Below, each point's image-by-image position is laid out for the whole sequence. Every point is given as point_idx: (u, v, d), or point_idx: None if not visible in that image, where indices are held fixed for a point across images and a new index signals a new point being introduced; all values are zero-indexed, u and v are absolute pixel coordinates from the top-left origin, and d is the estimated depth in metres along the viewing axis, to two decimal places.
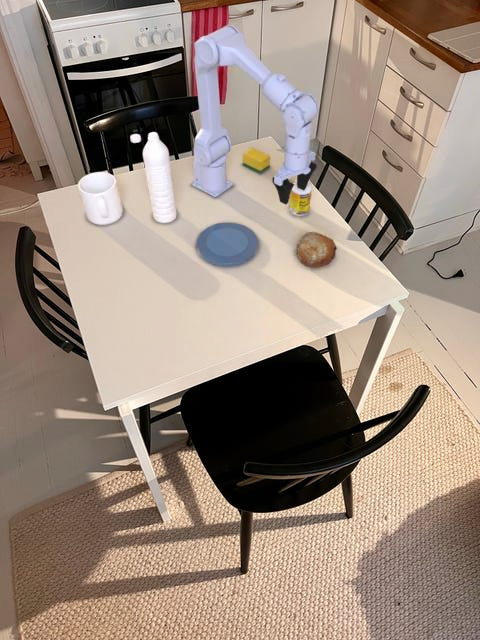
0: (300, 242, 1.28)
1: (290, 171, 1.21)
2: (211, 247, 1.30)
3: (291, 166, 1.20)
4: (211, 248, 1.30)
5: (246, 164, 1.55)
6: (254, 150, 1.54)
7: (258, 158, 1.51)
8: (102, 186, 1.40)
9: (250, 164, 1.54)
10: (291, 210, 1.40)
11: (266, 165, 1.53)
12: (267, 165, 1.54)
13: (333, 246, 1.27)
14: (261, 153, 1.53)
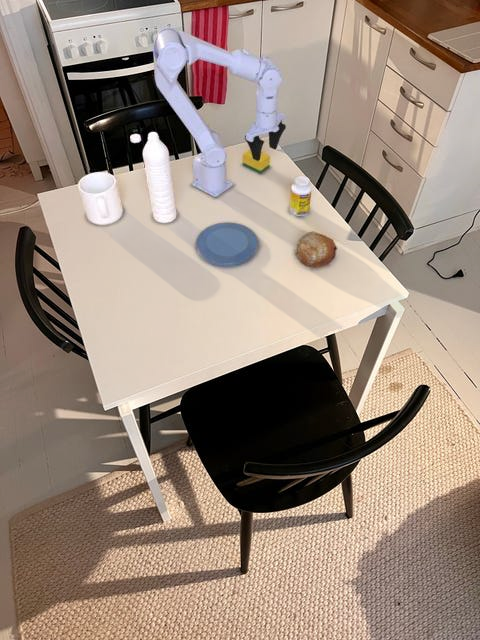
0: (300, 242, 1.28)
1: (260, 129, 1.36)
2: (211, 247, 1.30)
3: (261, 124, 1.35)
4: (211, 248, 1.30)
5: (246, 164, 1.55)
6: None
7: None
8: (102, 186, 1.40)
9: (250, 164, 1.54)
10: (291, 210, 1.40)
11: (266, 165, 1.53)
12: (267, 165, 1.54)
13: (333, 246, 1.27)
14: (261, 153, 1.53)
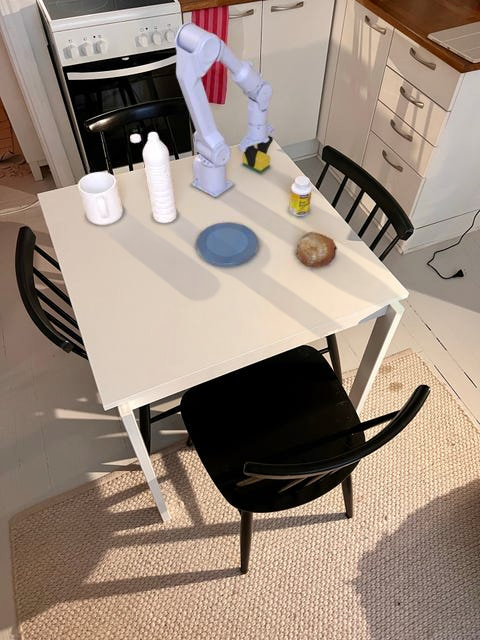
0: (300, 242, 1.28)
1: (252, 140, 1.46)
2: (211, 247, 1.30)
3: (252, 136, 1.45)
4: (211, 248, 1.30)
5: (246, 164, 1.55)
6: None
7: (258, 158, 1.51)
8: (102, 186, 1.40)
9: None
10: (291, 210, 1.40)
11: (266, 165, 1.54)
12: (267, 165, 1.54)
13: (333, 246, 1.27)
14: (261, 153, 1.53)
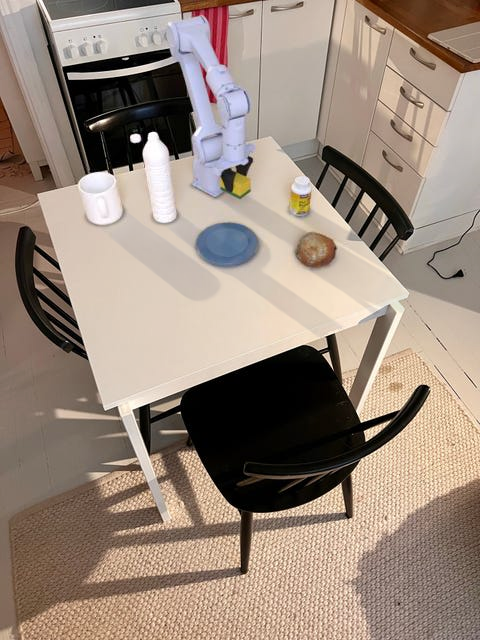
0: (300, 242, 1.28)
1: (228, 162, 1.27)
2: (211, 247, 1.30)
3: (229, 157, 1.26)
4: (211, 248, 1.30)
5: (224, 188, 1.35)
6: None
7: (237, 182, 1.32)
8: (102, 186, 1.40)
9: None
10: (291, 210, 1.40)
11: (246, 189, 1.34)
12: (248, 190, 1.35)
13: (333, 246, 1.27)
14: (241, 176, 1.34)
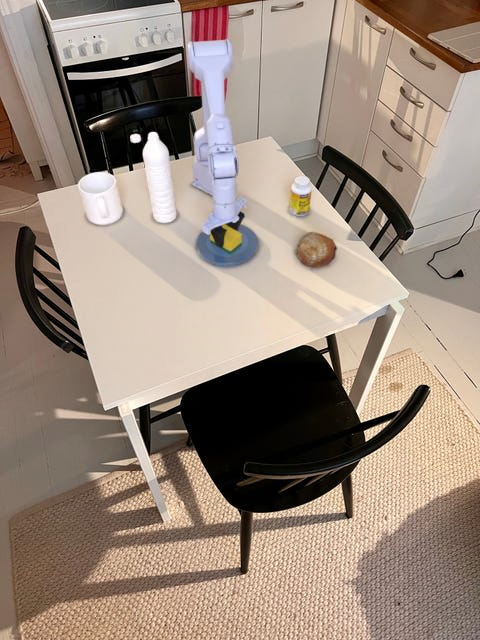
0: (300, 242, 1.28)
1: (218, 220, 1.22)
2: (211, 247, 1.30)
3: (219, 215, 1.21)
4: (211, 248, 1.30)
5: (214, 242, 1.30)
6: (223, 226, 1.30)
7: (227, 237, 1.27)
8: (102, 186, 1.40)
9: None
10: (291, 210, 1.40)
11: (237, 244, 1.29)
12: (239, 244, 1.30)
13: (333, 246, 1.27)
14: (231, 230, 1.29)
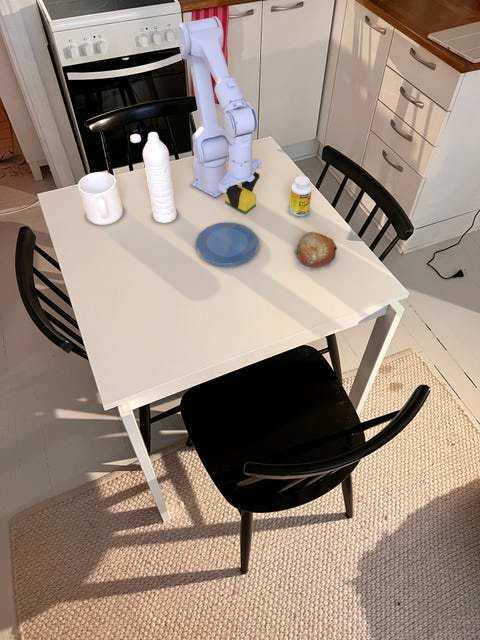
0: (300, 242, 1.28)
1: (234, 179, 1.24)
2: (211, 247, 1.30)
3: (235, 174, 1.23)
4: (211, 248, 1.30)
5: (229, 203, 1.33)
6: None
7: (242, 197, 1.29)
8: (102, 186, 1.40)
9: None
10: (291, 210, 1.40)
11: (252, 205, 1.31)
12: (253, 205, 1.32)
13: (333, 246, 1.27)
14: (246, 191, 1.31)
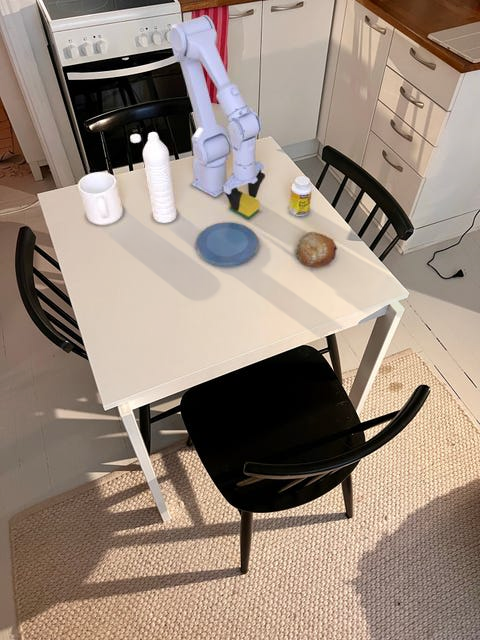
0: (300, 242, 1.28)
1: (238, 181, 1.31)
2: (211, 247, 1.30)
3: (239, 176, 1.30)
4: (211, 248, 1.30)
5: None
6: None
7: (246, 203, 1.38)
8: (102, 186, 1.40)
9: None
10: (291, 210, 1.40)
11: (255, 210, 1.40)
12: (256, 210, 1.40)
13: (333, 246, 1.27)
14: (249, 197, 1.39)
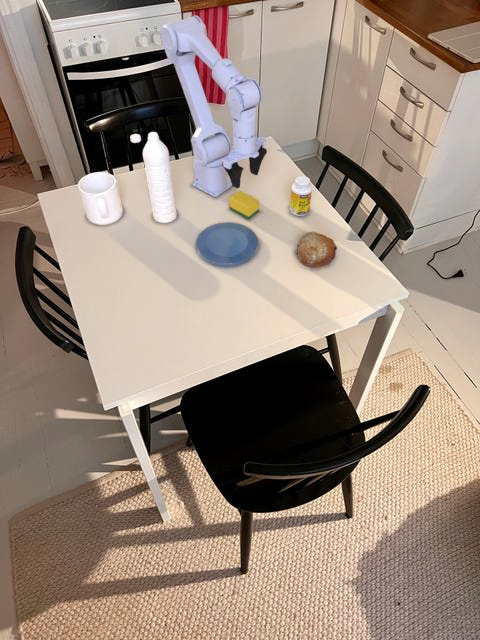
0: (300, 242, 1.28)
1: (239, 155, 1.25)
2: (211, 247, 1.30)
3: (239, 150, 1.24)
4: (211, 248, 1.30)
5: (233, 208, 1.41)
6: (242, 193, 1.40)
7: (246, 203, 1.38)
8: (102, 186, 1.40)
9: (237, 209, 1.40)
10: (291, 210, 1.40)
11: (255, 210, 1.40)
12: (256, 210, 1.40)
13: (333, 246, 1.27)
14: (249, 197, 1.39)
